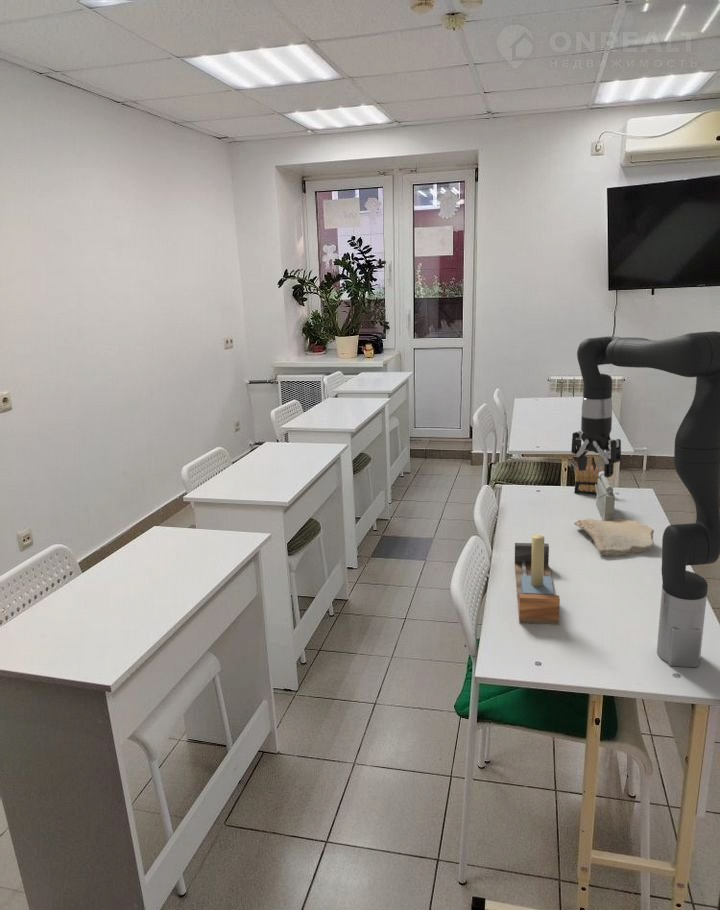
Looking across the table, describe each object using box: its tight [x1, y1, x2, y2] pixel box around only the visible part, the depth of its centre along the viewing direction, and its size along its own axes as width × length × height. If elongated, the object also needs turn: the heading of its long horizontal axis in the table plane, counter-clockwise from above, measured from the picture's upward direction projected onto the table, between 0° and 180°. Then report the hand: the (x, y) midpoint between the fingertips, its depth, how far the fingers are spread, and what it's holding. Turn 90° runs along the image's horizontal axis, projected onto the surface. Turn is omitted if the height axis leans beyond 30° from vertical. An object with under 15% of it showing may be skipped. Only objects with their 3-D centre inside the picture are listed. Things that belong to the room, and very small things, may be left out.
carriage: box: [521, 534, 555, 595], centre depth 173 cm, size 10×8×18 cm
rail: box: [514, 542, 561, 626], centre depth 183 cm, size 34×10×8 cm, turn 169°
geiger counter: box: [595, 470, 616, 521], centre depth 235 cm, size 14×6×25 cm
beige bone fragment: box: [573, 518, 655, 557], centre depth 213 cm, size 24×8×20 cm
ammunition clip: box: [573, 464, 604, 496], centre depth 255 cm, size 11×2×12 cm, turn 69°
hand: (594, 473), depth 173 cm, fingers open, 8 cm apart
